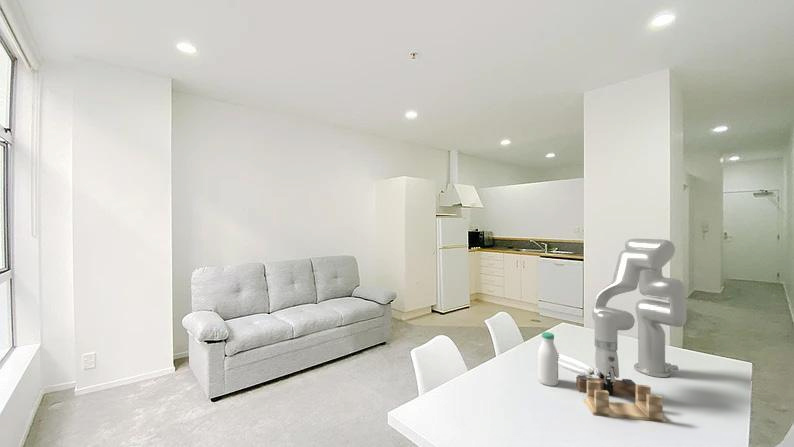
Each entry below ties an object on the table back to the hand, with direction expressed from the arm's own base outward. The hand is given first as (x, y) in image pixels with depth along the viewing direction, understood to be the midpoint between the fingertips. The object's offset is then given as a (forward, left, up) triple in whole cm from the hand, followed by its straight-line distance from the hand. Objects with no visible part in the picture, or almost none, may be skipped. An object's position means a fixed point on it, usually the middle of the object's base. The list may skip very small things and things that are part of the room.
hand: (605, 390), depth 128 cm
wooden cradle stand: (0, +13, -1) cm, 13 cm away
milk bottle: (+20, -5, -1) cm, 20 cm away
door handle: (+6, -24, -1) cm, 25 cm away
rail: (0, 0, -1) cm, 1 cm away
